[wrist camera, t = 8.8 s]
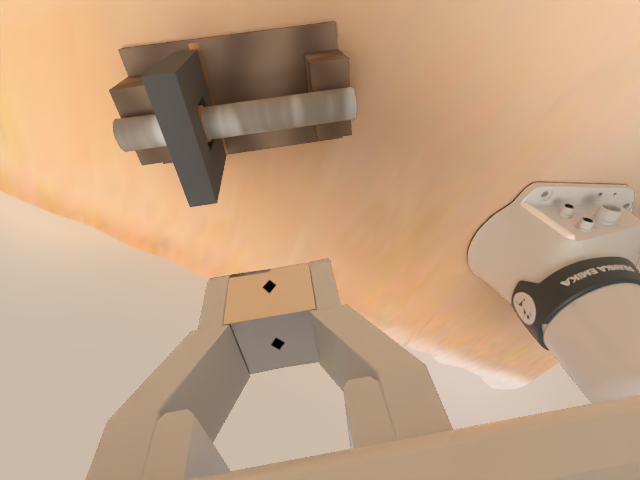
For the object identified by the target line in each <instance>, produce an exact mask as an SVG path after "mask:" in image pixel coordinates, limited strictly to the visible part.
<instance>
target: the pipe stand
mask: <svg viewBox="0 0 640 480" xmlns="http://www.w3.org/2000/svg"><path fill="white" fill-rule="evenodd" d="M196 49H197V51H198V54H199V58H200V62H201V65H202V69H203V72H204V76H205V80H206V83H207V87H208V91H209V94H210V98H211V102H212V105H213V106H208V107H203V106H202V105H200V106H197V110H198V113H199V117H200V120H201V123H202V127H203V130H204V133H205V136H206V140H207V142H211V140H212V139H219V138H222V142H223V145H224V149H225V152H226V155H227V154H234V153H240V152H247V151H254V150H261V149H268V148H275V147H282V146H289V145H296V144H302V143H309V142H316V141H323V140H330V139H337V138H342V136H348V135H352V131H351V120H352V119H356V115H357V103H356V96H355V91H354V88H353V87H350V82H349V58H347V57H346V56H345V55H344V54H343V53H341V52H340V51H339V50H338V49H337V33H336V22H334V21H332V22H324V23H316V24H308V25H301V26H293V27H285V28H277V29H269V30H261V31H253V32H245V33H237V34H230V35H222V36H214V37H206V38H198V39H190V40H182V41H174V42H166V43H159V44H151V45H143V46H135V47H127V48H121V49H119V50H118V51H119V53H120V56H121V58H122V61H123V63H124V66H125V68H126V71H127V73H128V76H129V77H127V78H126V79H124V80H123V81H122V82H120V83H119V84H117V85H116V86H114V87H113V88H112V89H110V90H109V91H110V94H111V96H112V98H113V100H114V103H115V105H116V107H117V110H118V112H119V114H120V116H121V119H115V120H114V122H113V132H114V136H115V139H116V141H117V143H118V145H119V146H120V148H121V149H122V150H123V151H125V152H128V151H135V150H136V153H137V155H138V157H139V160H140V162H141V164H142V165H148V164H155V163H162V162H163V164H165V163H172V162H173V161H172V158H171V156H170V153H169V150H168V148H167V145H166V142H165V140H164V137H163V134H162V132H161V129H160V126H159V124H158V121H157V119H156V116H155V113H154V111H153V108H152V105H151V103H150V100H149V97H148V95H147V92H146V90H145V87H144V84H143V82H142V79H141V76H143V75H144V74H145V73H146V72H148V71H149V70H150V69H152V68H153V67H154V66H155V65H157V64H158V63H159V62H161V61H162V60H163V59H164V58H166V57H167V56H168V55H170V54H171V53H173V52H181V51H189V50H196Z"/></svg>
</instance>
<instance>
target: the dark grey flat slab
mask: <svg viewBox="0 0 640 480" xmlns="http://www.w3.org/2000/svg"><path fill="white" fill-rule="evenodd" d="M141 79H142V82H143V84H144V87H145V90H146V92H147V95H148V97H149V100H150V103H151V105H152V108H153V111H154V113H155V116H156V119H157V121H158V124H159V126H160V129H161V132H162V134H163V137H164V140H165V142H166V145H167V148H168V150H169V153H170V156H171V158H172V161H173V163H174V166H175V169H176V171H177V174H178V177H179V179H180V182H181V185H182V187H183V190H184V192H185V195H186V198H187V200H188V203H189V206H190V207H194V206H201V205H207V204H214V203H217V200H218V195H219V190H220V185H221V180H222V175H223V170H224V165H225V160H226V152H225V149H224V145H223V142H222V138H219V139H212V140H211V142H207V140H206V136H205V133H204V130H203V127H202V123H201V120H200V117H199V113H198V110H197V106H200V105H202V106H203V107H208V106H213V105H212V102H211V98H210V94H209V91H208V87H207V83H206V80H205V76H204V72H203V69H202V65H201V62H200V58H199V54H198V51H197V49H196V50H189V51H181V52H173V53H171V54H170V55H168V56H167V57H166V58H164V59H163V60H162V61H161V62H159V63H158V64H157V65H155V66H154V67H153V68H152V69H150V70H149V71H148V72H146V73H145V74H144V75H143V76H141Z"/></svg>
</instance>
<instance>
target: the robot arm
mask: <svg viewBox="0 0 640 480" xmlns="http://www.w3.org/2000/svg"><path fill="white" fill-rule="evenodd" d="M634 200H635V196H634V190H633V189H632V188H630V187H629V186H628V185H615V184H580V183H545V182H536V183H533V184H531V185H529V186H528V187H527V188H526V189H525V190H524V191H523V192H522V193H521V194H520V195H519V196H518V197H517V198H516V199H515V200H514V202H512V203H511V204H510V205H508V206H507V207H505V208H504V209H502V210H501V211H499V212H498V213H496V214H495V215H494V216H492V217H491V218H490V219H489V220H488V221H487V222H486V223H485V224H484V225H483V226H482V227H481V228H480V229H479V231H478V232H477V233H476V235H475V236H474V238H473V240H472V242H471V244H470V247H469V250H468V265H469V267H470V269H471V271H472V272H473V273H474V274H475V275H476V276H478V277H479V278H481V279H482V280H484V281H485V282H486V283H487V284H489V285H490V286H491V287H492V288H494V289H495V290H496V291H497V292H498V293H499V294H500V295H501V296H502V297H503V298H504V299H505V300H506V301H507V302H509V303H510V304H511V306H512V307H513V308H514V310H515V312H516V313H517V315H518V317H519V318H520V320H521V321H522V323H523V324H524V325H525V327H526V328H527V329H528V330H529V332H530V333H531V334H532V335H533V337H534V338H535V339H536V340H537V341H538V343H539V344H540V345H541V346H542V347H543V348H544V349H546V350H549V351H550V352H551V353H552V354H553V355H554V357H555V358H556V359H557V361H558V362H559V363H560V364H561V365H562V367H563V368H564V369H565V371H566V372H567V373H568V374H569V376H570V377H571V378H572V380H573V381H574V382H575V383H576V385H577V386H578V387H579V388H580V390H581V391H582V392H583V393H584V395H585V396H586V397H587V398H588V400H590V402H591V403H592V404H588V405H583V406H577V407H572V408H567V409H561V410H556V411H551V412H545V413H540V414H535V415H529V416H524V417H519V418H513V419H508V420H503V421H497V422H492V423H487V424H481V425H476V426H471V427H465V428H460V429H455V430H453V428H452V426H451V423H450V421H449V419H448V416H447V414H446V412H445V409H444V407H443V405H442V402H441V400H440V398H439V395H438V393H437V391H436V388H435V386H434V384H433V381H432V379H431V376H430V374H429V372H428V369H427V367H426V365H425V364H424V363H422V362H421V361H420V360H418V359H417V358H416V357H415V356H413V355H412V354H410V353H409V352H408V351H407V350H406V349H404V348H403V347H401V346H400V345H399V344H398V343H396V342H395V341H394V340H393V339H391V338H390V337H389V336H387V335H386V334H385V333H384V332H382V331H381V330H380V329H378V328H377V327H376V326H374V325H373V324H372V323H371V322H369V321H368V320H367V319H365V318H364V317H363V316H361V315H360V314H359V313H358V312H356V311H355V310H354V309H352V308H351V307H350V306H349V305H341V303H340V299H339V295H338V291H337V287H336V282H335V278H334V274H333V270H332V266H331V261H330V260H329V259H322V260H317V261H312V262H310V266H309V263H303V264H297V265H292V266H286V267H280V268H274V269H268V270H261V271H254V272H247V273H240V274H233V275H228V276H221V277H214V278H210V279H209V281H208V282H207V287H206V291H205V296H204V301H203V306H202V311H201V316H200V321H199V326H198V330H195V331H191V332H190V333H189V334H188V335H187V336H186V337H185V339H184V340H183V341H182V342H181V343H180V344H179V345H178V346H177V347H176V348H175V349H174V350H173V351H172V352H171V353H170V355H169V356H168V357H167V358H166V359H165V360H164V361H163V362H162V363H161V364H160V366H158V368H157V369H156V370H155V371H154V372H153V373H152V374H151V375H150V376H149V377H148V378H147V379H146V380H145V381H144V383H143V384H142V385H141V386H140V387H139V388H138V389H137V390H136V391H135V392H134V393H133V394H132V395H131V396H130V397H129V399H128V400H127V401H126V402H125V403H124V404H123V405H122V406H121V407H120V408H119V409H118V410H117V411H116V413H115V414H114V415H113V416H112V417H111V418H110V419H109V420H108V421H107V424H106V427H105V429H104V432H103V434H102V437H101V440H100V442H99V445H98V448H97V450H96V453H95V456H94V459H93V461H92V464H91V467H90V469H89V472H88V475H87V477H86V480H640V273H639V272H638V270H637V269H636V267H635V266H636V264H637V261H638V258H639V256H640V219H639V218H637V217H636V216H635V215H634V214H632V210H633V207H634ZM310 271H311V272H310ZM316 362H319V363H320V365H321V366H322V367H323V368H324V369H325V370H326V372H327V373H328V374H329V375H330V376H331V378H332V379H333V380H334V381H335V382H336V383H337V384H338V386H339V387H340V388H341V389H342V391H343V392H344V399H345V407H346V415H347V423H348V432H349V440H350V447H351V449H348V450H342V451H338V452H332V453H326V454H322V455H316V456H311V457H305V458H300V459H295V460H289V461H284V462H278V463H273V464H268V465H262V466H257V467H252V468H246V469H241V470H236V471H231V472H229V468H228V466H227V465H226V463H225V462H224V460H223V459H222V457H221V455H220V454H219V452H218V451H217V449H216V448H215V447H214V445H213V441H214V440H215V438H216V436H217V434H218V433H219V431H220V429H221V427H222V425H223V423H224V422H225V420H226V418H227V417H228V415H229V413H230V411H231V409H232V408H233V406H234V404H235V402H236V400H237V399H238V397H239V395H240V394H241V392H242V390H243V388H244V386H245V385H246V383H247V381H248V379H249V378H250V375H249V374H254V373H259V372H263V371H268V370H273V369H278V368H283V367H289V366H295V365H302V364H309V363H316Z"/></svg>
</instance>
